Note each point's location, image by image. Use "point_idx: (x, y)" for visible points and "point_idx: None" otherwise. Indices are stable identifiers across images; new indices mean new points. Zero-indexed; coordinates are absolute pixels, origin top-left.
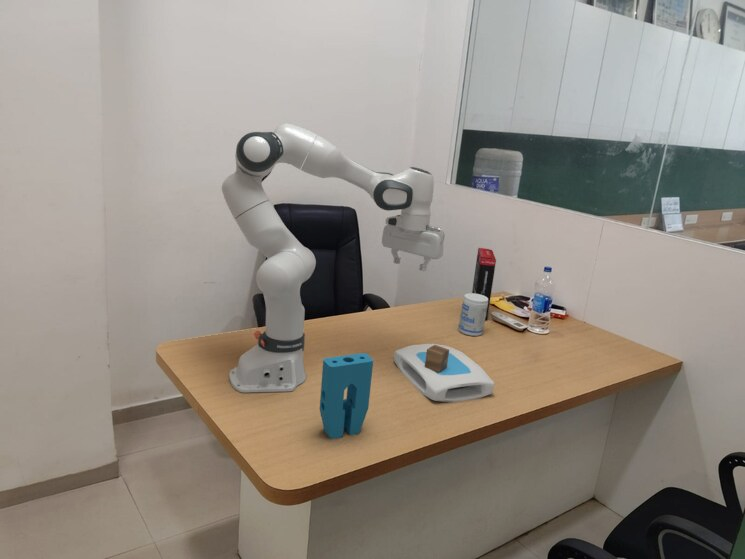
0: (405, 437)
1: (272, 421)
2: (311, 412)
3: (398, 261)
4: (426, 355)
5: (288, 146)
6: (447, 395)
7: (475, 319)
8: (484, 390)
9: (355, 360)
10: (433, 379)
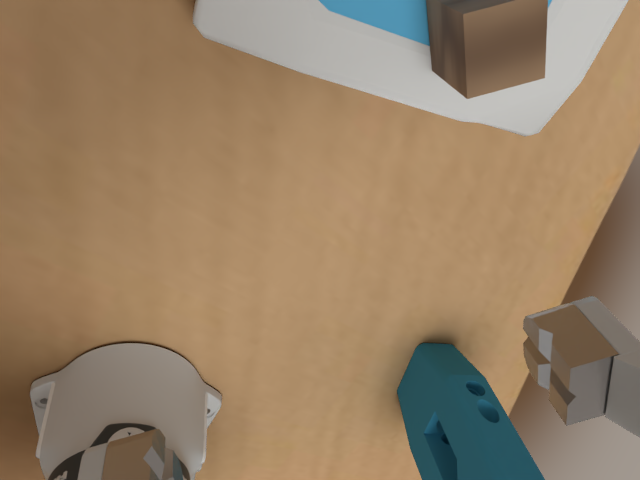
0: (536, 279)
1: (312, 454)
2: (329, 391)
3: (161, 474)
4: (455, 88)
5: None
6: None
7: None
8: None
9: None
10: (510, 111)
